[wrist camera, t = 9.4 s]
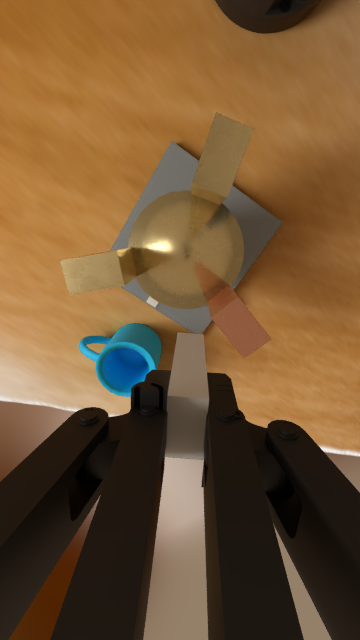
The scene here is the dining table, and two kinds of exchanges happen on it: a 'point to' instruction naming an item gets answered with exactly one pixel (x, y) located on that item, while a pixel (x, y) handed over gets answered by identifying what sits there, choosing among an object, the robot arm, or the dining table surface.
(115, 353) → the mug
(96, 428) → the robot arm
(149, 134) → the dining table surface
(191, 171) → the post base
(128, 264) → the three-blade desk fan
